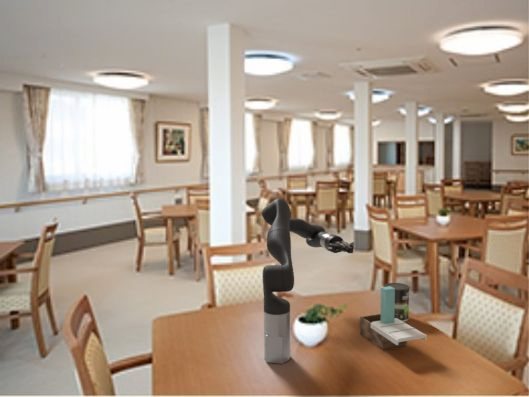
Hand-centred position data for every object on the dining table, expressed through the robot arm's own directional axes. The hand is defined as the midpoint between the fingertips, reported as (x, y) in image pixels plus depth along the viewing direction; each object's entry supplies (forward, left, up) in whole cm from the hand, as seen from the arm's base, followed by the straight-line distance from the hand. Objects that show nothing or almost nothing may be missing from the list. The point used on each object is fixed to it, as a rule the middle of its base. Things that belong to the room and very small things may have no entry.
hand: (351, 250), depth 186 cm
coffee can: (+15, -18, -32) cm, 40 cm away
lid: (-18, -17, -26) cm, 36 cm away
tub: (-10, -12, -32) cm, 36 cm away
